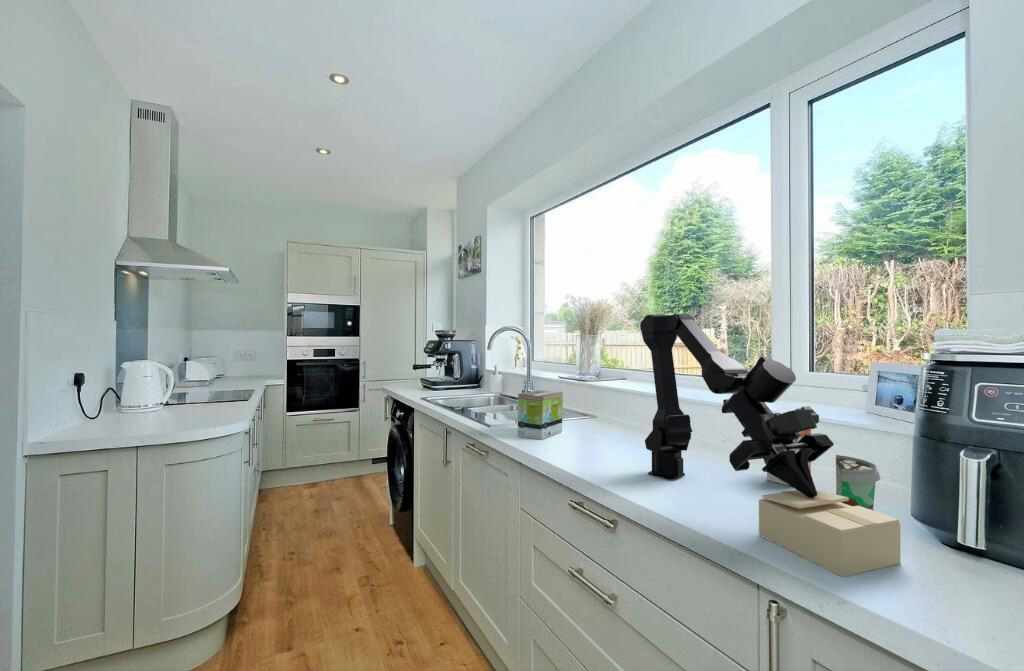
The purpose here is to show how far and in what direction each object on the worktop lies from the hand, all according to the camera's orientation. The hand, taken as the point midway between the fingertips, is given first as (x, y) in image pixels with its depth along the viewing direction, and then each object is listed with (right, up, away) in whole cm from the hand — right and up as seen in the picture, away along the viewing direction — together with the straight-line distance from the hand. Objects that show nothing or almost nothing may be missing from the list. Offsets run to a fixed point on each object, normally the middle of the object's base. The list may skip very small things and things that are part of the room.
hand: (814, 496), depth 73 cm
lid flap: (-1, -1, +2) cm, 2 cm away
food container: (+16, -8, +10) cm, 20 cm away
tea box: (-39, -8, +82) cm, 91 cm away
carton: (+1, -8, -2) cm, 8 cm away
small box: (+16, -8, +32) cm, 36 cm away
